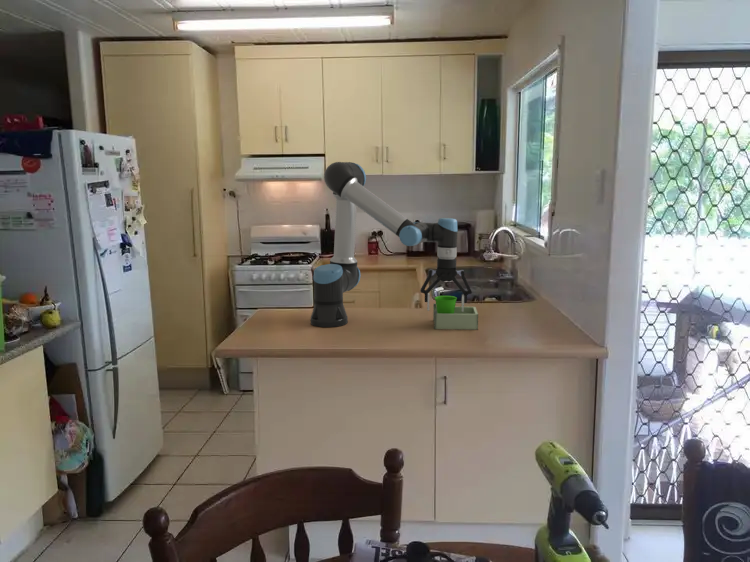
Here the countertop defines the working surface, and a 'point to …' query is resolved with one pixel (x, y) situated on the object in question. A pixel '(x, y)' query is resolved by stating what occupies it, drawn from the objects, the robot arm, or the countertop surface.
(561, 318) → the countertop surface
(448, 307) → the cup
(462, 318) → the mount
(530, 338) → the countertop surface
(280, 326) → the countertop surface
